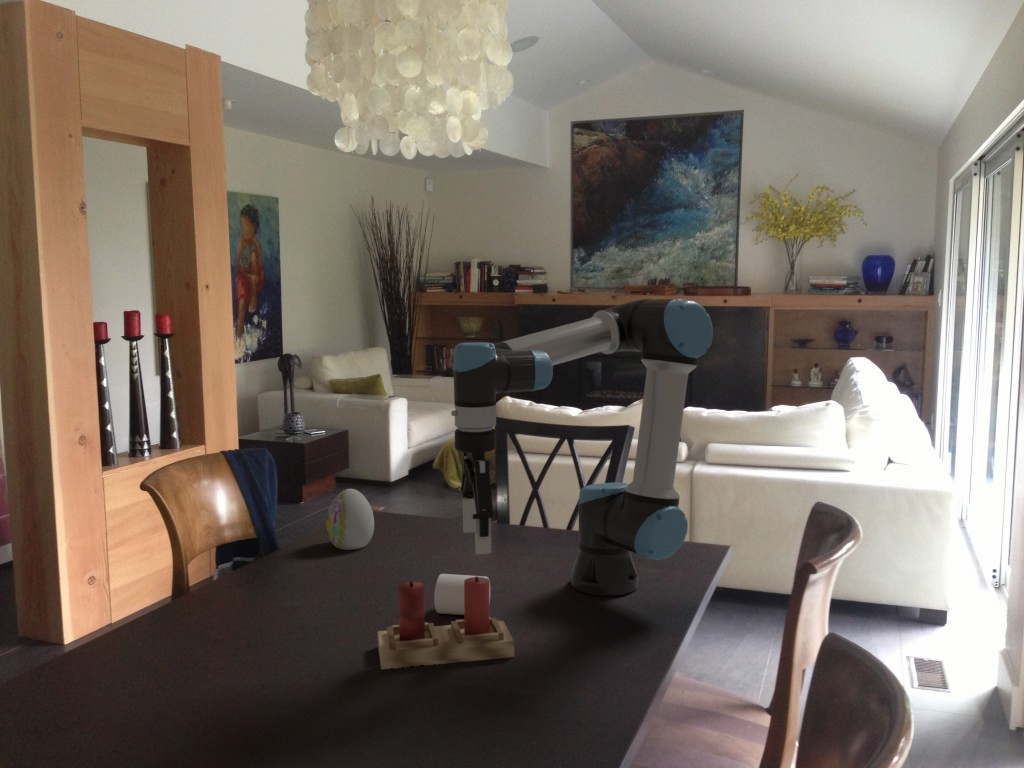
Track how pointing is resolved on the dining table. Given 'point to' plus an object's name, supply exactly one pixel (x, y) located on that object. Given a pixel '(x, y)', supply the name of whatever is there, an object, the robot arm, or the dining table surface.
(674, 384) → the robot arm
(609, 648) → the dining table surface
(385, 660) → the oak candlestand
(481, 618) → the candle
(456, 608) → the mug
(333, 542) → the decorative egg
